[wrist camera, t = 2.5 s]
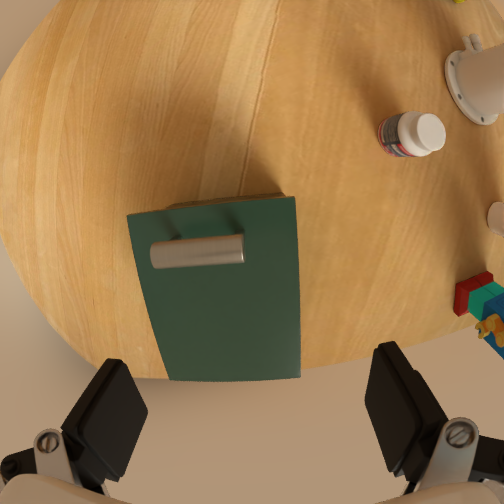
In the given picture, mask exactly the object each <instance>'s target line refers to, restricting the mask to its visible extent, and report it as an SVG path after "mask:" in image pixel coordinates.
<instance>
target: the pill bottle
mask: <svg viewBox="0 0 504 504" xmlns="http://www.w3.org/2000/svg"><path fill="white" fill-rule="evenodd" d="M378 139H379V142H380V145H381V146H382V148H383V149H384V150H385V151H386V152H387V153H388V154H390V155H392V156H396V157H421V156H426V155H428V154H430V153H431V152H432V151H436V150H439V149H440V148H442V146H443V145H444V143H445V139H446V132H445V128H444V125H443V123H442V122H441V120H440V119H439V118H438V117H437V116H435V115H434V114H431V113H424V114H423V113H421V112H417V111H409V112H405V113H402V114H399V115H396V116H392V117H389V118H387V119H385V120H383V121H382V123H381V124H380V126H379V129H378Z"/></svg>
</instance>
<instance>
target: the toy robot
mask: <svg viewBox="0 0 504 504" xmlns="http://www.w3.org/2000/svg"><path fill="white" fill-rule="evenodd" d="M468 312H470V313H471V314H472V315H473V316H475V317H476V318H477V319H478V320H479V321H480V322H479V323H477V324H476V326H475V329H477V330H479V336H478V338H479V339H482V338H483V339H484V340H485V341H486V342H487V343H489V344H490V346H491V347H492V348H493V349H494V350H495V351H496V352H497V353H498V354H499V355H500V356H501V357H502V358H503V359H504V288H503V287H502V286H500V285H499V284H497V283H496V282H494V280H493V274H491V273H490V272H488V271H486V272H484V273H482V274H479V275H477V276H475V277H473V278H470V279H467V280H465V281H462V282H460V283H457V284H456V293H455V304H454V313H455V314H456V315H457V316H458V317H459V316H461V315H464V314H466V313H468Z"/></svg>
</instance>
